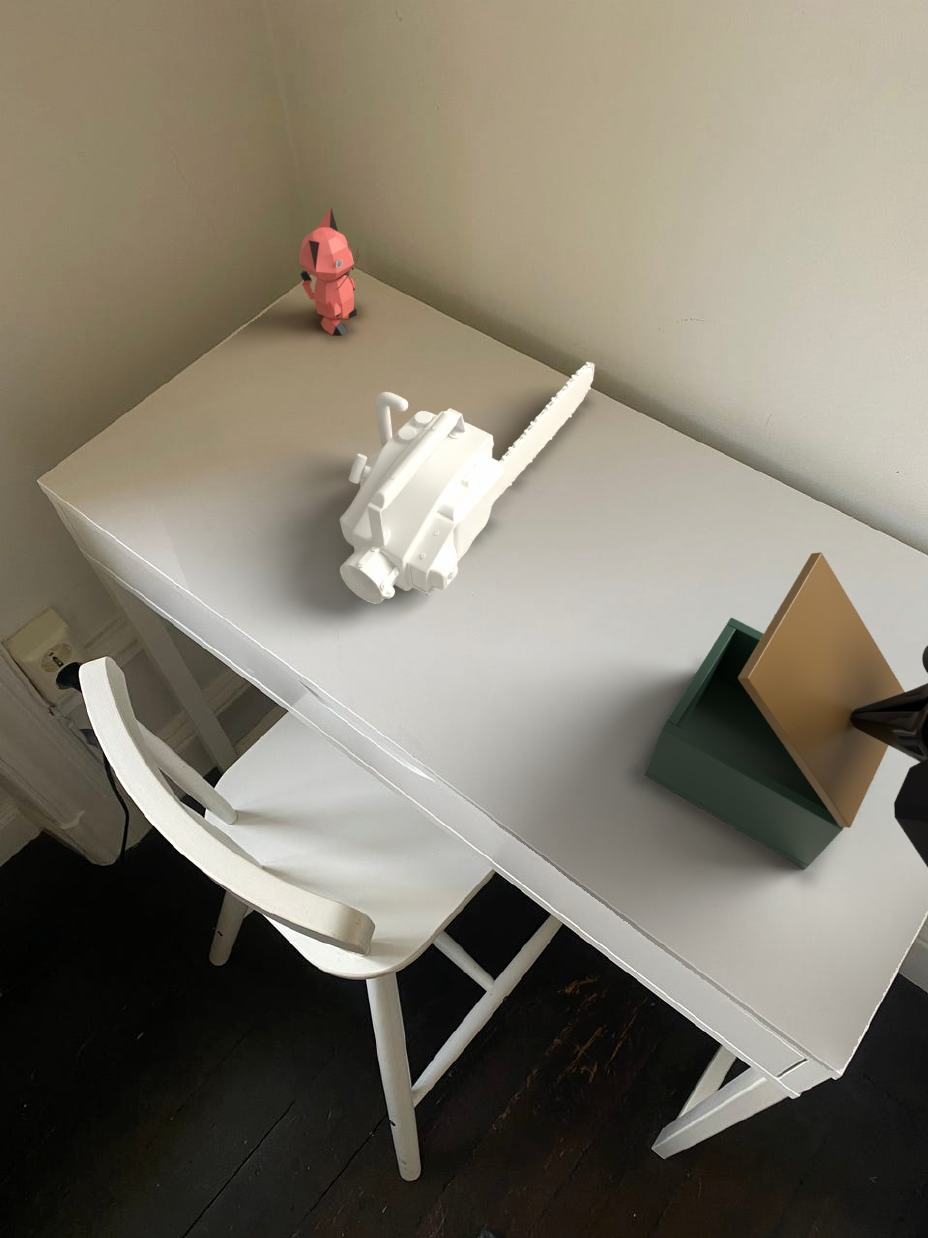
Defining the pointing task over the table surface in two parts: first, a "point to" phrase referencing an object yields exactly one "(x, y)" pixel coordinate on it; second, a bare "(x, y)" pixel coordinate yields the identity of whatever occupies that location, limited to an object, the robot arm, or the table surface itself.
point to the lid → (822, 687)
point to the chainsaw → (434, 492)
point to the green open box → (739, 758)
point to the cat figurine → (329, 274)
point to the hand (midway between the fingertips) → (854, 719)
